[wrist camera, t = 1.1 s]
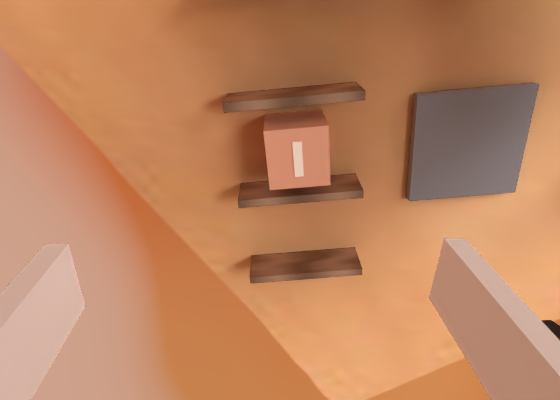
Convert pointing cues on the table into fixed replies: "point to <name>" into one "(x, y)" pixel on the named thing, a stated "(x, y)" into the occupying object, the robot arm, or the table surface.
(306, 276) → the bay rack
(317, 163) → the letter cube
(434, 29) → the table surface
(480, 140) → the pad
